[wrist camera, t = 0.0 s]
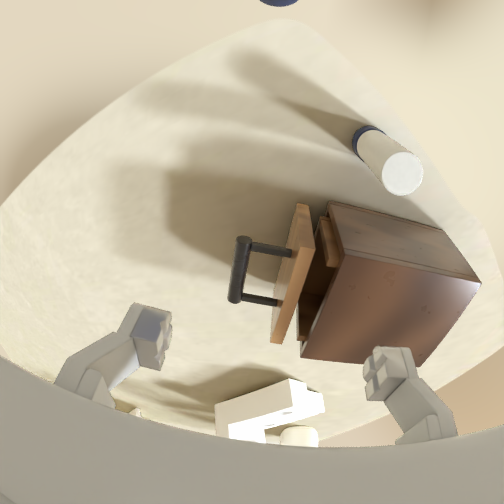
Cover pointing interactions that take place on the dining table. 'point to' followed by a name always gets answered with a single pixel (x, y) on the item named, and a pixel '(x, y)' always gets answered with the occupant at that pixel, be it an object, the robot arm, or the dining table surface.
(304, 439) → the alcohol
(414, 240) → the cabinet
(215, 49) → the dining table surface
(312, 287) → the drawer
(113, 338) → the robot arm
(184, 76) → the dining table surface
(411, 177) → the tube
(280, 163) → the dining table surface
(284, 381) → the white cradle stand
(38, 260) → the dining table surface
